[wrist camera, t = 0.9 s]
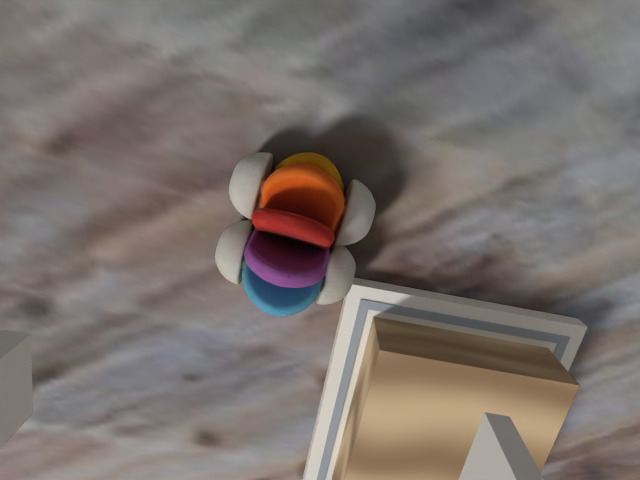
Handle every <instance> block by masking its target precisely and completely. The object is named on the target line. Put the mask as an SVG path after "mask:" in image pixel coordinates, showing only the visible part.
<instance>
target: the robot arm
mask: <svg viewBox="0 0 640 480" xmlns="http://www.w3.org/2000/svg"><path fill="white" fill-rule="evenodd" d="M32 414H33V394H32V366H31V338H30V334H26V333H20V332H15V331H9V330H1V331H0V449H1V448H2V447H3V446H4V445H5V443H6V442H7V441H8V440H9V439H10V438H11V437H12V436H13V435H14V433H15V432H16V431H17V430H18V429H19V428H20V427H21V426H22V425H23V424H24V422H25V421H26V420H27V419H28V418H29V417H30V416H31V415H32ZM459 480H544V479H543V477H542V475H541V473H540V471H539V469H538V468H537V466H536V464H535V462H534V460H533V458H532V456H531V455H530V453H529V451H528V449H527V447H526V445H525V444H524V442H523V440H522V438H521V436H520V434H519V432H518V431H517V429H516V427H515V425H514V423H513V421H512V419H511V418H510V416H504V415H498V414H493V413H487V412H484V415H483V417H482V420H481V423H480V425H479V428H478V430H477V433H476V436H475V438H474V441H473V443H472V446H471V449H470V451H469V454H468V456H467V459H466V462H465V464H464V467H463V469H462V472H461V474H460V477H459Z"/></svg>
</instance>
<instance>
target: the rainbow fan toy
mask: <svg viewBox="0 0 640 480" xmlns="http://www.w3.org/2000/svg"><path fill="white" fill-rule="evenodd" d="M272 163H273V155H272V154H271V153H265V152H259V153H254V154H251V155H249V156H247V157H245V158H243V159H242V160H240V161H239V162H238V164H237V165H236V167H235V169H234V172H233V175H232V178H231V181H230V186H229V195H230V199H231V201H232V203H233V205H234V207H235V208H236V209H237V210H238V211H239V212H240V213H241V214H242V215H243V216H245V217H246V218H248V219H252V221H251V220H245V221H239V222H236V223H234V224H232V225H230V226H229V227H227V228H226V229H225V230H224V231H223V233H222V235H221V237H220V239H219V242H218V245H217V249H216V254H215V260H216V264H217V266H218V268H219V270H220V272H221V273H222V275H223V276H224V277H225V278H226V279H228V280H229V281H231V282H232V283H235V284H240V282H241V281H243V285H244V288H245V291H246V293H247V295H248V297H249V298H250V300H251V301H252V302H253V303H254V304H255V305H256V306H257V307H258V308H259V309H261V310H262V311H264V312H266V313H268V314H271V315H273V316H288V315H293V314H296V313H298V312H300V311H302V310H304V309H305V308H307V307H308V306H309V305H310V304H311V303H312V302H313V301H314V300H315V299H316V302H317V303H318V304H331V303H334V302H337V301H339V300H341V299H342V298H344V297H345V296H346V295H347V294H348V293H349V291H350V289H351V287H352V284H353V280H354V276H355V270H356V265H355V261H354V258H353V256H352V255H351V253H350V252H349V250H348V249H347V248H346V247H345V246H343V245H349V244H353V243H355V242H357V241H359V240H361V239H362V238H364V237H365V236H366V235H367V233H368V231H369V230H370V227H371V225H372V222H373V218H374V215H375V209H376V204H375V200H374V198H373V196H372V194H371V192H370V191H369V189H368V188H367V187H366V186H365V185H364V184H362V183H361V182H359V181H358V180H355V179H353V180H351V182H350V184H349V186H348V188H347V191H346V193H345V196H344V183H342V179H341V177H340V174H339V172H338V170H337V168H336V167H335V166H334V164H333V163H332V162H331V161H330V160H329V159H327V158H326V157H324V156H322V155H320V154H316V153H311V152H304V153H298V154H295V155H292V156H290V157H288V158H286V159H285V160H283V161H282V162H281V163H280V164H278V165H277V166H276V167H275V169H274V171H273V173H272V174H271V175H270V173H271V168H272ZM316 297H317V298H316Z"/></svg>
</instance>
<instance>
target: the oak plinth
mask: <svg viewBox="0 0 640 480" xmlns="http://www.w3.org/2000/svg"><path fill="white" fill-rule="evenodd" d="M579 386H580V385H579V384H578V383H577V382H576V380H575V379H574V378H573V377H572V376H571V375H570V373H569V372H568V371H567V370H566V369H565V367H564V366H563V365H562V364H561V363H560V362H559V360H558V359H557V358H556V357H555V356H554V354H553V353H552V352H551V351H550V350H549V349H548V348H546V347H540V346H535V345H529V344H523V343H518V342H512V341H507V340H501V339H496V338H490V337H484V336H479V335H473V334H468V333H462V332H457V331H451V330H445V329H440V328H434V327H429V326H423V325H418V324H412V323H406V322H401V321H395V320H390V319H384V318H379V317H373V319H372V323H371V327H370V331H369V335H368V339H367V342H366V346H365V350H364V354H363V358H362V362H361V366H360V370H359V374H358V377H357V381H356V385H355V389H354V393H353V397H352V401H351V405H350V409H349V413H348V416H347V420H346V424H345V428H344V432H343V436H342V440H341V444H340V448H339V451H338V455H337V459H336V463H335V467H334V471H333V475H332V480H459V477H460V474H461V472H462V469H463V467H464V464H465V462H466V459H467V456H468V454H469V451H470V449H471V446H472V443H473V441H474V438H475V436H476V433H477V430H478V428H479V425H480V423H481V420H482V417H483V415H484V412H487V413H493V414H498V415H504V416H510V418H511V419H512V421H513V423H514V425H515V427H516V429H517V431H518V432H519V434H520V436H521V438H522V440H523V442H524V444H525V445H526V447H527V449H528V451H529V453H530V455H531V456H532V458H533V460H534V462H535V464H536V466H537V468H538V469H539V471H540V473H541V470H542V468H543V466H544V464H545V462H546V459H547V457H548V455H549V453H550V450H551V448H552V446H553V444H554V442H555V439H556V437H557V435H558V433H559V431H560V428H561V426H562V424H563V422H564V420H565V417H566V415H567V413H568V411H569V409H570V406H571V404H572V402H573V400H574V397H575V395H576V393H577V391H578V389H579Z"/></svg>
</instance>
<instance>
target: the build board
mask: <svg viewBox="0 0 640 480" xmlns="http://www.w3.org/2000/svg"><path fill="white" fill-rule="evenodd" d="M373 317H379V318H384V319H390V320H395V321H401V322H406V323H412V324H418V325H423V326H429V327H434V328H440V329H445V330H451V331H457V332H462V333H468V334H473V335H479V336H484V337H490V338H496V339H501V340H507V341H512V342H518V343H523V344H529V345H535V346H540V347H546V348H548V349H549V350H550V351H551V352H552V353H553V354H554V356H555V357H556V358H557V359H558V360H559V362H560V363H561V364H562V365H563V366H564V367H565V369H566V370H567V371H569V369H570V367H571V364H572V362H573V360H574V358H575V355H576V353H577V351H578V348H579V346H580V344H581V342H582V339H583V337H584V335H585V332H586V330H587V328H588V327H587V326H586V325H585V324H584V323H583V322H581V321H580V320H579V319H578V318H573V317H568V316H562V315H557V314H551V313H546V312H540V311H535V310H529V309H524V308H519V307H513V306H508V305H502V304H497V303H491V302H486V301H480V300H475V299H469V298H464V297H458V296H453V295H448V294H442V293H437V292H431V291H426V290H420V289H415V288H409V287H404V286H398V285H393V284H387V283H382V282H377V281H371V280H366V279H360V278H355V277H354V280H353V284H352V287H351V289H350V291H349V293H348V294H347V295H346V296H345V297H344V300H343V305H342V309H341V313H340V318H339V322H338V326H337V331H336V335H335V340H334V344H333V348H332V353H331V357H330V361H329V366H328V370H327V374H326V379H325V383H324V388H323V392H322V396H321V401H320V405H319V409H318V414H317V418H316V422H315V427H314V431H313V436H312V440H311V444H310V449H309V453H308V457H307V462H306V466H305V470H304V475H303V479H302V480H332V475H333V471H334V467H335V463H336V459H337V455H338V451H339V448H340V444H341V440H342V436H343V432H344V428H345V424H346V420H347V416H348V413H349V409H350V405H351V401H352V397H353V393H354V389H355V385H356V381H357V377H358V374H359V370H360V366H361V362H362V358H363V354H364V350H365V346H366V342H367V339H368V335H369V331H370V327H371V323H372V319H373Z"/></svg>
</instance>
